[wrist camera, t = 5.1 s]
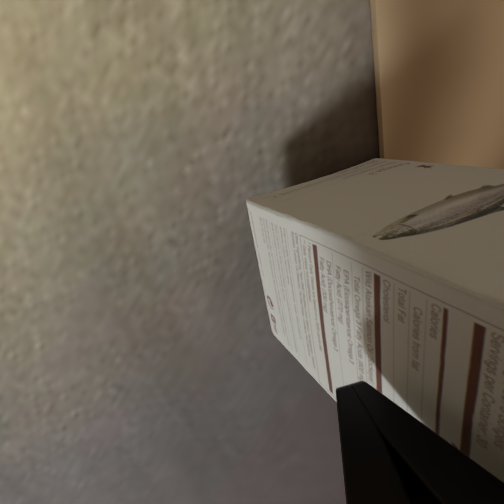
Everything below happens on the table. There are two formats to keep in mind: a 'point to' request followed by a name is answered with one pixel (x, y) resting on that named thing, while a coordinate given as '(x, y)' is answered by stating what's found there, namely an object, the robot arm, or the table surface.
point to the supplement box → (395, 289)
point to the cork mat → (440, 80)
